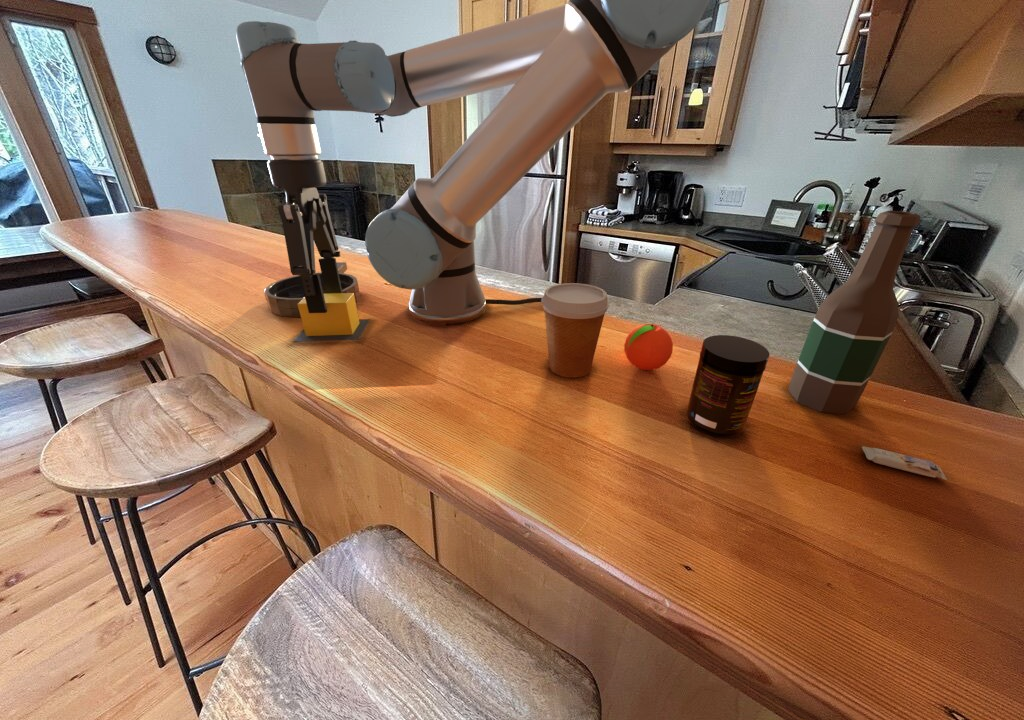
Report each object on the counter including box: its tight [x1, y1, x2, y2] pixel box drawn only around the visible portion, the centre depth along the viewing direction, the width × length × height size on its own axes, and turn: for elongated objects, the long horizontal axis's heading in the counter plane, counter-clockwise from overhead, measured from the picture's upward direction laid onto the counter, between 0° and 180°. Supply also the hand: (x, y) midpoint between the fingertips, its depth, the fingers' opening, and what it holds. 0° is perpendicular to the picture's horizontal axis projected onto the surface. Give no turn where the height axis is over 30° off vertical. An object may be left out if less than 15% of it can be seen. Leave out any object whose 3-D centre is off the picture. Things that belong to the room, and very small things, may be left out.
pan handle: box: [336, 261, 348, 273], centre depth 98 cm, size 3×11×2 cm, turn 4°
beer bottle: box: [788, 210, 921, 415], centre depth 50 cm, size 8×8×24 cm
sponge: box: [298, 293, 360, 336], centre depth 73 cm, size 8×5×6 cm, turn 94°
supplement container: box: [685, 334, 770, 439], centre depth 48 cm, size 7×7×10 cm
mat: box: [292, 318, 371, 343], centre depth 74 cm, size 11×9×1 cm
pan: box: [263, 272, 361, 318], centre depth 86 cm, size 18×18×4 cm
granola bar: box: [861, 445, 948, 481], centre depth 44 cm, size 7×2×1 cm, turn 63°
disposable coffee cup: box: [540, 282, 610, 379], centre depth 60 cm, size 10×10×12 cm
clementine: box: [623, 323, 674, 371], centre depth 61 cm, size 8×7×7 cm
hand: (326, 302), depth 72 cm, fingers open, 8 cm apart
